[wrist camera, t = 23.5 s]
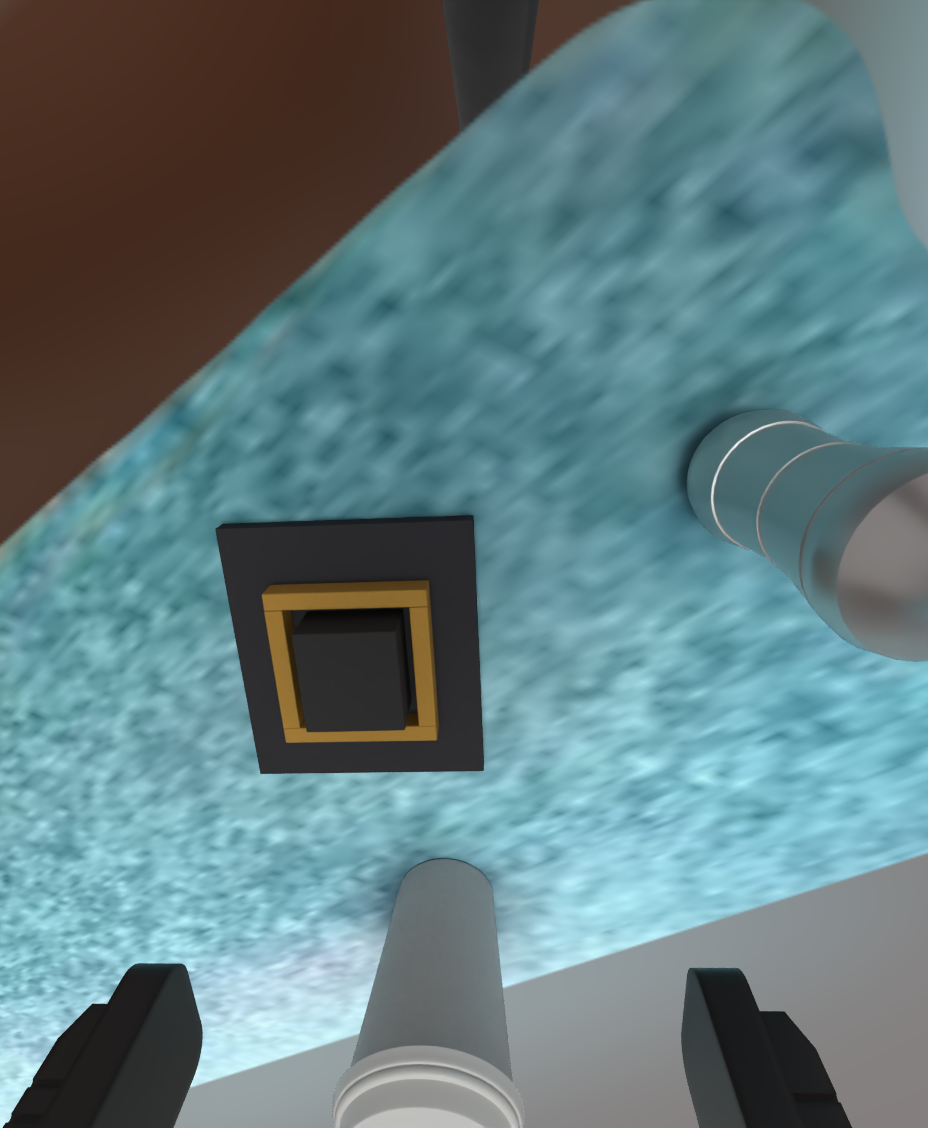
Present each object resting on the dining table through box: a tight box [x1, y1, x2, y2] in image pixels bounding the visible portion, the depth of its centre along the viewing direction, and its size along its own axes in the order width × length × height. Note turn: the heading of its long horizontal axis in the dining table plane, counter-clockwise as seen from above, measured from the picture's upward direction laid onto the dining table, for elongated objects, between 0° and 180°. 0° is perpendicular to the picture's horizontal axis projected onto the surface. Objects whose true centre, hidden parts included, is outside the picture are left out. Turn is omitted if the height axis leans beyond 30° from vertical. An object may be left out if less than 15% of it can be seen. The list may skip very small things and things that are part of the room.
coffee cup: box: [333, 859, 525, 1128], centre depth 36 cm, size 10×10×15 cm
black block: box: [291, 609, 411, 732], centre depth 35 cm, size 6×6×3 cm
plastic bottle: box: [687, 409, 928, 662], centre depth 23 cm, size 6×7×20 cm
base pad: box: [215, 516, 484, 774], centre depth 36 cm, size 16×14×2 cm
